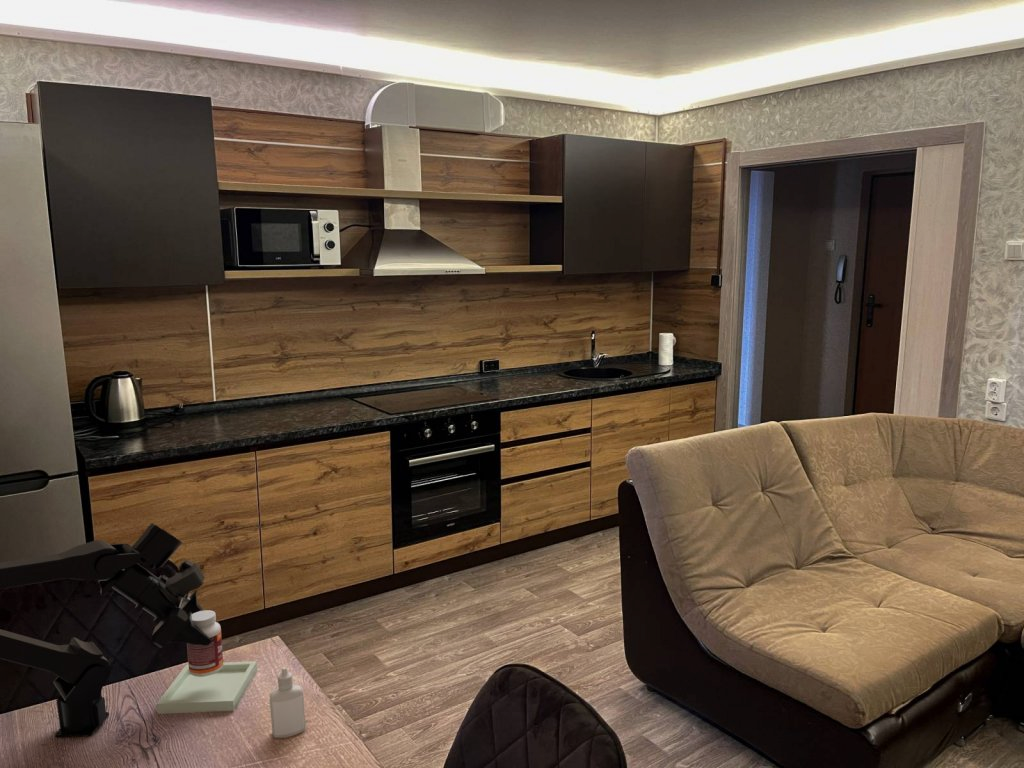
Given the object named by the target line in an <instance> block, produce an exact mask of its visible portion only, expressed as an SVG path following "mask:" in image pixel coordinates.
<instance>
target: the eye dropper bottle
mask: <svg viewBox="0 0 1024 768" xmlns="http://www.w3.org/2000/svg"><path fill="white" fill-rule="evenodd" d="M293 678H294V677H293V674H292V673H291V672H290V671H288V669H287V667H286V666H284V667H282V668H281V673H279V674H278V676H277V686H278V687H277V688H275V689H273V690H272V691H271V692H270V694H269V708H270V709H269V710H270V718H271V721H270V722H271V723H270V724H271V731H272V736H273V737H274V738H275V739H283V738H284V739H285V738H290V737H293V736H296V735H298V734H300V733H303V732H304V731H305V730H306V727H307V725H306V724H307V722H306V712H305V710H306V709H305V697H304V690H303V687H302V686H301V685H299V684H294V681H293Z"/></svg>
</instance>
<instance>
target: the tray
mask: <svg viewBox="0 0 1024 768" xmlns="http://www.w3.org/2000/svg"><path fill="white" fill-rule="evenodd" d="M257 670H258V661H256V660H255V661H254V660H253V661H251V660H250V661H229V662H228V661H227V662H224V661H223V667H222V669H221V670H220V671H218V672H217V673H215V674H212V675H209V676H205V677H197V676H193V675H191V674H190V672H189V665H188V663H187V664H186V665H185V666H184V667H183V669H182V670H181V671H180V673H179V674H178V675H177V677H176V678H175V679H174V681H173V682H172V683H171V684H170V685H169V687H168V688H167V690H165V692H164V693H163V695H162V696H161V697H160V699H159V700H158V701H157V703H156V712H157V715H159V714H160V715H163V714H164V715H165V714H184V713H185V714H186V713H189V714H190V713H191V714H192V713H208V712H209V713H210V712H213V713H215V712H234V711H235V710H236V709H237V707H238V705H239V703H240V702H241V700H242V698H243V696H244V695H245V693H246V691H247V690H248V688H249V686H250V684H251V683H252V681H253V679H254V677H255V676H256V674H257V672H258V671H259V670H258V671H257Z"/></svg>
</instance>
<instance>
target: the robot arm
mask: <svg viewBox="0 0 1024 768" xmlns="http://www.w3.org/2000/svg"><path fill="white" fill-rule="evenodd" d="M182 544H183V542H182V541H181V540H180V539H178V538H176V537H175V536H174V535H173V534H171V533H169V531H167V530H165V529H164V528H161V527H160V526H158V525H156V523H154V522H151V523H150V524H149V525H148V526H147V527H146V529H145V531H144V532H143V533H142V535H141V536H139V538H138V539H137V540H136V541H135V543H133V544H132V545H131V544H130V543H128V542H126V543H124V542H123V543H109V542H108V541H105V540H102V539H98V540H97V539H96V540H92V541H90V542H89V541H88V542H85V543H82V544H78V545H76V546H74V547H71V548H70V549H68V550H66V551H65V550H64V551H62V552H60V553H54V554H47V555H41V556H40V555H39V556H35V557H29V558H22V559H15V560H9V561H1V562H0V590H5V589H11V588H12V589H13V588H17V587H23V586H24V587H25V586H29V585H34V584H40V583H41V584H42V583H47V582H52V581H53V582H54V581H59V580H60V581H61V580H78V581H98V584H99V586H100V595H101V596H102V597H104V596H106V595H107V593H109V591H111V589H113V591H116V592H117V593H119V594H120V595H122V596H123V597H124V598H126V599H127V600H129V601H131V602H132V603H133V604H135V607H134V610H136V612H139V613H140V612H141V611H142V610H144V611H145V612H146V613H149V615H151V616H152V617H154V619H153V622H154V623H155V624H156V626H155V627H154V629H153V631H152V634H151V638H152V643H153V644H154V645H156V646H157V647H158V648H160V649H162V648H164V647H165V646H166V644H170V643H178V644H179V643H181V644H187V643H190V644H198V645H206V646H208V645H209V644H210V643H211V641H212V640H211V639H210V638H209V637H208V636H207V635H206V634H205V633H204V632H203V631H202V630H201V629H199V628H198V627H197V626H196V625H195V624H194V623H193V622H192V614H194V613H196V612H199V611H204V609H203V607H202V606H201V605H200V603H199V602H198V601H199V600H198V599H199V598H198V597H199V596H198V589H199V588H200V587H202V586H203V585H204V580H205V575H204V574H203V572H202V571H201V565H198V564H197V562H192V561H191V560H188V559H187V560H184V561H183V562H180V564H179V566H178V568H179V569H178V571H179V572H176V573H175V574H174V575H173V576H171V577H167V576H166V575H165V574H164V575H162V574H160V576H156V575H155V574H153V573H152V572H150V570H148V569H147V568H145V567H143V566H142V565H140V563H138V562H139V561H140V562H142V563H143V564H144V565H146V566H147V567H149V568H150V569H152V570H154V569H155V568H157V569H158V570H159V569H160V568H162V567H163V566H164V565H165V564H166V563H167V562H168V560H169V559H170V558H171V557H172V556H173V554H175V553H176V551H177V550H178V549H179V548H180V547H181V545H182ZM191 591H193V592H192V594H191V593H190V592H191ZM0 660H3V661H6V662H11V663H15V664H19V665H22V666H27V667H29V668H34V669H39V670H42V671H45V672H50V673H52V674H53V675H55V676H56V677H55V679H54V680H53V685H54V686H55V688H56V689H57V691H58V693H59V694H60V695H59V697H57V699H56V701H55V702H56V707H57V715H58V723H59V729H58V730H57V731H56V732H55V734H54V737H55V738H68V737H69V738H70V737H71V738H72V737H73V738H74V737H90V736H92V735H94V733H95V732H96V731H97V730H98V729H99V728H100V726H102V724H103V723H104V722H105V720H106V719H107V718H108V717H109V715H110V713H109V711H107V708H106V700H105V697H104V696H102V691H103V687H104V684H105V683H106V681H107V680H108V679H109V677H110V675H111V668H112V667H111V664H110V662H109V661H108V659H107V658H106V657H105V656H104V654H103V652H102V651H101V650H100V648H98V647H97V646H96V644H95V643H94V642H93V641H83V640H80V639H79V638H77V637H74V636H73V637H71V640H70V643H69V644H62V645H60V644H54V643H51V642H48V641H44V640H40V639H36V638H33V637H30V636H25V635H23V634H19V633H15V632H13V631H8V630H4V629H1V628H0Z"/></svg>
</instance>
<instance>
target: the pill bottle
mask: <svg viewBox="0 0 1024 768" xmlns="http://www.w3.org/2000/svg"><path fill="white" fill-rule="evenodd" d="M203 610H204V609H203ZM216 615H217V614H216V611H214V610H209V609H206V610H204V611H199V612H196V613H194V614H192V622H193V623H194V624H195V625H196V626H197V627H198V628H199V629H201V630H202V631H203V632H204V633H205V634H206V635H207V636H208V637H209V638H210V639H211V640H212V641H211V643H210V644H209V645H208V646H206V645H198V644H190V643H186V649H187V664H188V665H189V672H190V674H191V675H193V676H197V677H205V676H209V675H212V674H215V673H217V672H218V671H220V670H221V669H222V667H223V662H224V656H223V655H224V654H223V640H222V638H223V637H222V628H221V624H220V623H219V622H216V620H217V616H216Z"/></svg>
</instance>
